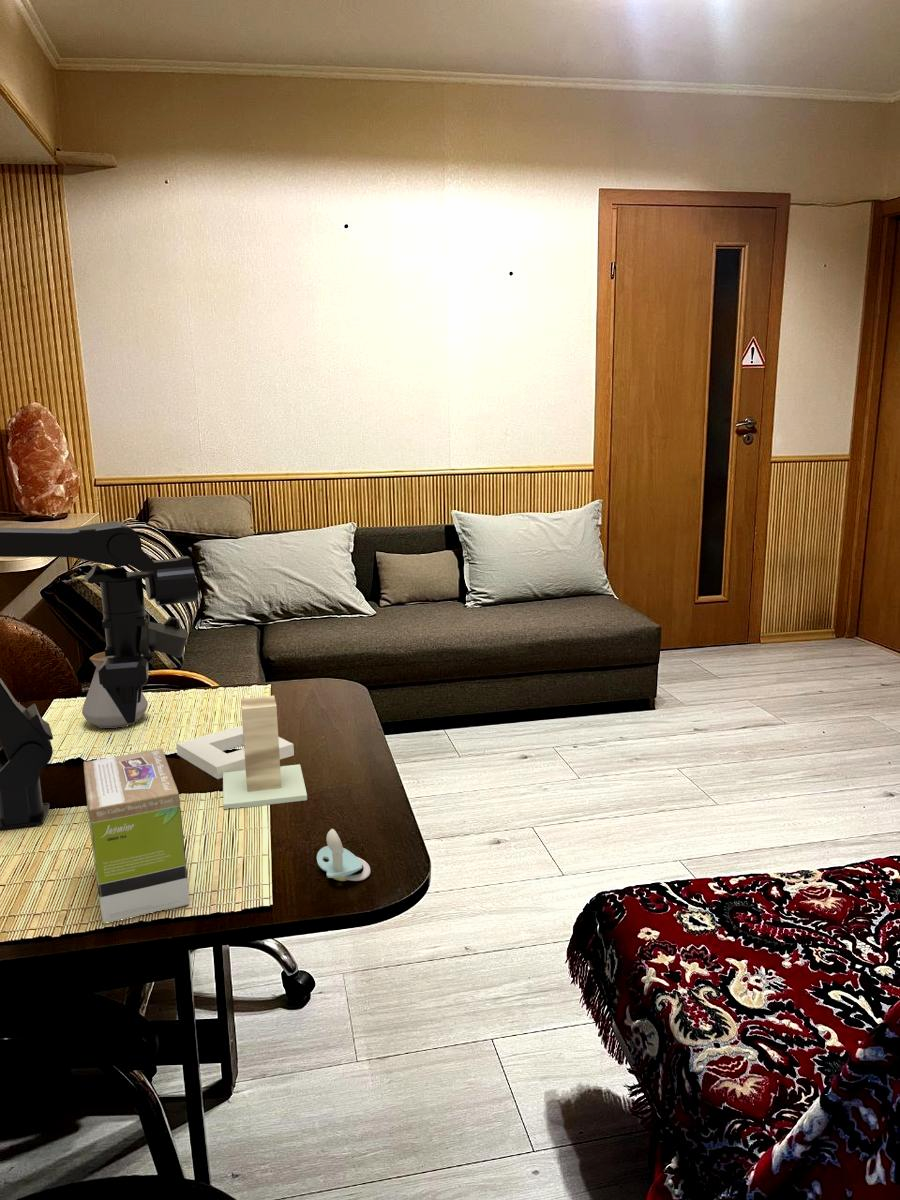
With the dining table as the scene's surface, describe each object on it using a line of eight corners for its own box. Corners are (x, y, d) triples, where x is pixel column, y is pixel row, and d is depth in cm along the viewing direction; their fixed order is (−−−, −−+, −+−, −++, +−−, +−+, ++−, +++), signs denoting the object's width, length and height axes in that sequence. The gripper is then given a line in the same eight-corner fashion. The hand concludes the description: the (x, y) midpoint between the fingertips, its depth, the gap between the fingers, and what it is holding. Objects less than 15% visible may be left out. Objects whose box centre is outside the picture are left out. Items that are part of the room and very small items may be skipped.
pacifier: (356, 856, 119) (312, 866, 116) (356, 811, 118) (311, 820, 115) (379, 881, 113) (333, 893, 110) (379, 834, 111) (332, 844, 109)
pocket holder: (294, 755, 152) (293, 744, 152) (217, 779, 143) (216, 767, 143) (251, 733, 162) (250, 722, 162) (177, 754, 153) (176, 743, 153)
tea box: (93, 867, 117) (81, 758, 114) (174, 850, 121) (165, 745, 118) (101, 927, 103) (87, 806, 100) (192, 907, 107) (182, 789, 104)
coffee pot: (80, 717, 172) (72, 640, 169) (144, 707, 177) (137, 632, 174) (92, 756, 153) (83, 670, 150) (163, 743, 158) (155, 660, 155)
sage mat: (307, 800, 135) (306, 795, 135) (223, 809, 132) (223, 804, 132) (300, 768, 147) (300, 764, 146) (223, 777, 144) (222, 772, 144)
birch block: (281, 788, 138) (276, 705, 135) (247, 792, 136) (241, 709, 133) (279, 775, 142) (274, 695, 139) (246, 779, 141) (240, 698, 138)
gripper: (179, 620, 125) (188, 728, 128) (184, 592, 143) (192, 688, 146) (93, 626, 122) (104, 736, 126) (108, 597, 140) (118, 694, 143)
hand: (134, 712), depth 135 cm, fingers open, 9 cm apart
